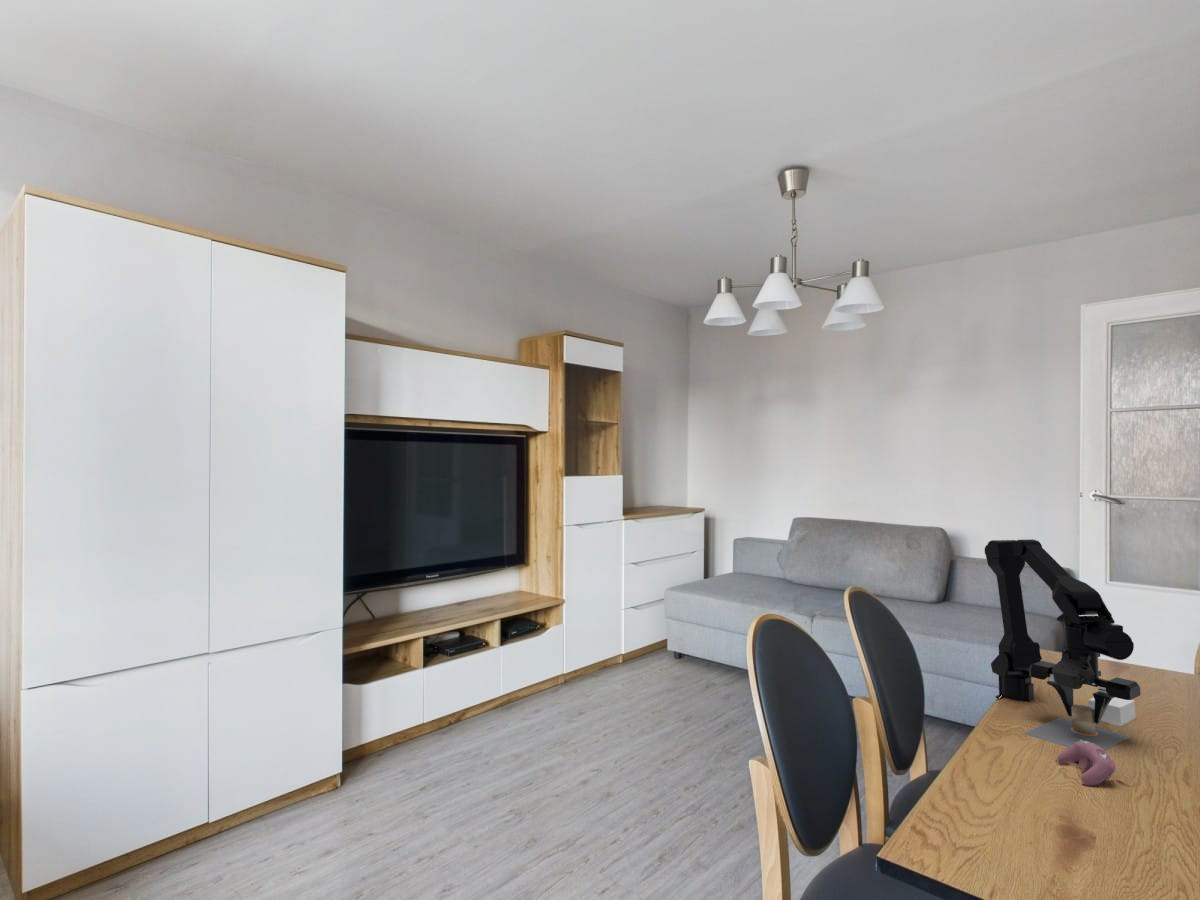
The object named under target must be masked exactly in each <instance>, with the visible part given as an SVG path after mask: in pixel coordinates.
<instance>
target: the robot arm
mask: <svg viewBox="0 0 1200 900" xmlns="http://www.w3.org/2000/svg"><path fill="white" fill-rule="evenodd" d="M984 555H985V559H986V562H987V566H988V567H989V568H990V570H991V571H992V572H993V573H994V574H995V576H996V581H997V588H998V589H997V591H998V595H999V602H1000V604H999V605H1000V611H1001V617H1002V618H1001V619H1002V625H1003V626H1002V627H1003V632H1004V633H1003V635H1002V638H1001V640H1000V642H999V643H998V654H997V656H995V658H994V659H993V660H992V661H991V663H990V667H991V670H992V673H993V674H995V675H997V676H998V694H997V695H995V698H996V699H998V698H999V697H1000V696H1001V695H1002V697H1001V698H1000V699H999V700H1003V699H1009V700H1013V701H1019V702H1027V703H1030V702H1032V701H1033V702H1034V701H1035V690H1034V689H1035V688H1034V686H1035V685H1034V683H1032V678H1034V679H1038V680H1042V681H1043V680H1045V681H1046V679H1048V680H1047V681H1046V683H1047V685H1049V686H1051V687H1052V688H1053V689H1054V690H1055V691H1056V692H1057V694H1058V695H1059V698H1060V700H1061V702H1062V704H1063V706H1064V708H1065V710H1066V714H1067V716H1069V717H1072V708H1071V706H1072V705H1074V690H1080V689H1081V688H1082V686H1083V685H1086V686H1087V685H1088V686H1091V687H1095V688H1097V691H1095V692H1093V693H1092V696H1093V697H1094V699H1095V709H1094V719H1095V725H1098V724H1100V722H1101V721H1100V720H1101V718H1102V716H1103V714H1104V712H1105V710H1106V708H1107V706H1108V704H1109V702H1110V701H1111V700H1112V698H1115V697H1116V698H1120V699H1124V700H1134V699H1136V698H1139V697H1140V696H1141V695H1142V694H1141V686H1140V684H1138V682H1137V681H1134V680H1131V679H1126V678H1121V677H1115V678H1111V679H1109V680H1108V679H1104V678H1100V677H1102V672H1101V671H1102V670H1099V658H1101V655H1103V656H1105V657H1108V658H1111V659H1114V660H1118V661H1123V660H1126V659H1128V658H1129V657H1130V656H1131V655H1132V653H1133V652H1134V648H1135V647H1134V646H1135V645H1134V641H1132V640H1133V639H1132V638H1131V636H1130V635H1129V634H1128V633H1126V632H1124V626H1123V625H1121V624H1116V623H1115V622H1116V621H1115V620H1114V617H1113V615H1112V613H1111V612H1110V611H1109V609H1108V607H1107V605H1106V603H1105V601H1104V600H1103V597H1102V596H1101V594H1100V593H1099V592H1098V590H1096V589H1095V588H1093V587H1092V586H1090V585H1089V584H1088V583H1086V582H1084V581H1081V580H1079V579H1077V578H1075V577H1073V576H1071V575H1070V573H1068V572H1067V571H1066V570H1065V568H1063V566H1061V565H1060V564H1059V563H1058V562H1057V560H1055V559H1054V558H1053V557H1052V556H1051V555H1050V553H1048V551H1046V549H1044V547H1043V546H1042V543H1041V542H1040V541H1039V540H1037V539H999V540H998V539H993V540H989V542H987V544H986V545H985V546H984ZM1026 564H1027V565H1028V567H1030V568H1031V570H1033V572H1034V573H1036V575H1037V576H1038V577H1039V578H1040V579H1041V580H1042V581H1043V582H1044V583H1045V584H1046V585H1047V587H1048V588H1049V589H1050V590H1051V596H1052V597H1051V598H1052V601H1053V602H1054V603H1055V605H1056V606H1057V608H1058V609H1059V610H1060V612H1061V613H1062V614H1061V615H1059V616H1058V617H1056V620H1057V622H1061V623H1063V628H1064V629H1063V630H1064V649H1063V650H1062V653H1061V658H1060V661H1057V662H1056V663H1053V662H1050V661H1044V660H1043V657H1042V655H1041V649H1040V648H1041V646H1040V644H1039V643H1038V642H1037V641H1034V640H1033V639H1032V638H1031V636H1030V635H1029V632H1028V626H1027V619H1026V611H1025V604H1024V598H1023V591H1022V584H1021V573H1022V572H1023V569H1024V567H1025V565H1026Z"/></svg>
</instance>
